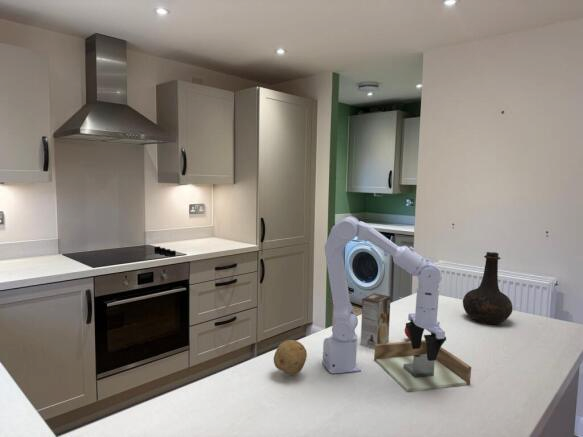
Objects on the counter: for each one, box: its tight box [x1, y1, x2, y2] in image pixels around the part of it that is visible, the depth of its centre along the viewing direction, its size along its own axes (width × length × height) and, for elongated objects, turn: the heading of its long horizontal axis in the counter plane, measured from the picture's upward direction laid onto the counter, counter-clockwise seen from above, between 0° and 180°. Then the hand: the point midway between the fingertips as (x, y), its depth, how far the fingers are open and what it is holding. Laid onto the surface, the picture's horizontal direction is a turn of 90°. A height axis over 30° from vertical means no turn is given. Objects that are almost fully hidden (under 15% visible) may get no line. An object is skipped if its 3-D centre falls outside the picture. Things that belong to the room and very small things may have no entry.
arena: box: [373, 339, 472, 393], centre depth 116 cm, size 19×19×5 cm
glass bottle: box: [462, 251, 513, 325], centre depth 162 cm, size 18×18×28 cm
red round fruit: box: [404, 321, 411, 341], centre depth 138 cm, size 6×6×8 cm
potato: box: [273, 339, 308, 377], centre depth 112 cm, size 9×9×10 cm
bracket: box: [403, 354, 435, 378], centre depth 114 cm, size 6×6×6 cm
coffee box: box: [360, 292, 392, 350], centre depth 135 cm, size 9×6×16 cm
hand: (423, 354), depth 112 cm, fingers open, 7 cm apart
